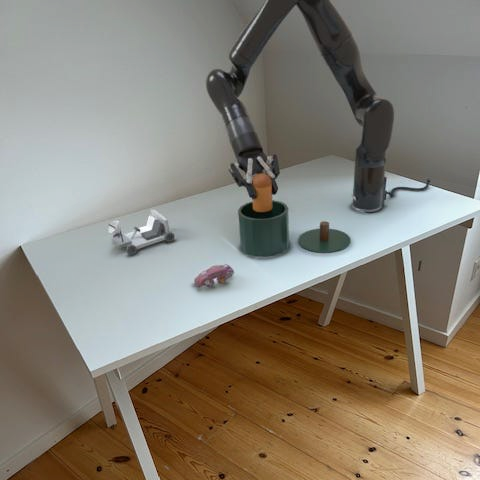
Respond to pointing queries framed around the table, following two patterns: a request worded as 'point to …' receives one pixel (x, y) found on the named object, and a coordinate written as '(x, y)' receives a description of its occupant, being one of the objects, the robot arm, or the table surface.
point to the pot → (264, 230)
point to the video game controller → (214, 275)
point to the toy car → (142, 233)
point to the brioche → (262, 193)
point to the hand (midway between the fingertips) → (265, 195)
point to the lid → (324, 239)
